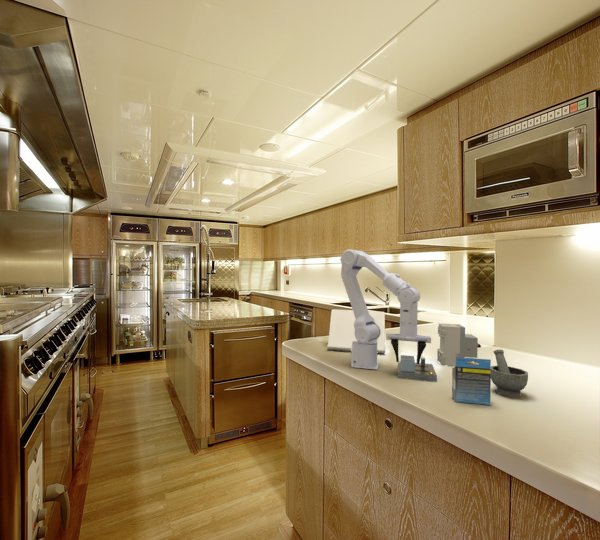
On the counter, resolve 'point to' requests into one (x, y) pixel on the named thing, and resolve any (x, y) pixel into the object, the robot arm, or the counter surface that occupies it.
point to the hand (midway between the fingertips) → (407, 362)
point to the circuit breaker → (455, 344)
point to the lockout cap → (407, 363)
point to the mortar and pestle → (507, 377)
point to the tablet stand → (351, 330)
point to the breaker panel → (419, 372)
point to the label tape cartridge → (471, 381)
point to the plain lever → (422, 360)
